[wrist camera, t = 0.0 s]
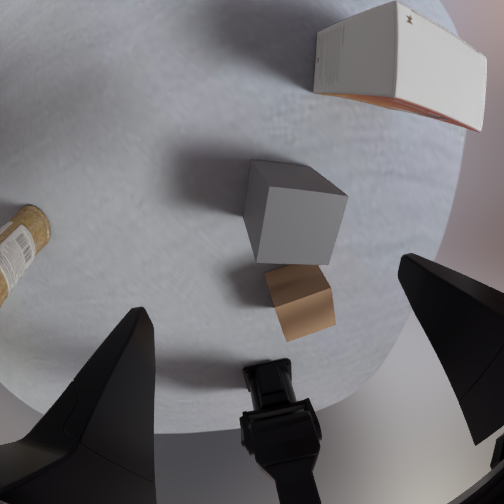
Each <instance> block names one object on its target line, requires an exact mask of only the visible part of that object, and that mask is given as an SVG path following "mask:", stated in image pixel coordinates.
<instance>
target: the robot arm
mask: <svg viewBox="0 0 504 504" xmlns="http://www.w3.org/2000/svg"><path fill="white" fill-rule="evenodd" d="M398 279H399V281H400V283H401V286H402V288H403V290H404V292H405V294H406V296H407V298H408V300H409V303H410V305H411V307H412V309H413V311H414V313H415V315H416V317H417V318H418V320H419V322H420V324H421V326H422V328H423V329H424V331H425V333H426V335H427V337H428V339H429V341H430V342H431V344H432V346H433V348H434V350H435V352H436V354H437V356H438V358H439V360H440V362H441V364H442V366H443V368H444V370H445V373H446V375H447V377H448V379H449V381H450V383H451V386H452V388H453V390H454V392H455V395H456V397H457V399H458V401H459V405H460V406H461V409H462V411H463V414H464V417H465V420H466V422H467V425H468V428H469V430H470V433H471V436H472V439H473V442H474V444H475V446H476V445H478V444H479V443H481V442H482V441H483V440H485V439H486V438H488V437H489V436H490V435H492V434H493V433H494V432H496V431H497V430H498V429H500V428H501V427H502V426H503V425H504V293H502V292H500V291H498V290H496V289H494V288H492V287H489V286H487V285H485V284H483V283H481V282H479V281H476V280H474V279H472V278H469V277H468V276H465V275H463V274H461V273H459V272H456V271H454V270H452V269H449V268H447V267H445V266H442V265H440V264H438V263H435V262H433V261H431V260H428V259H426V258H423V257H421V256H418V255H416V254H413V253H409V254H405V255H403V256H402V257H401V261H400V265H399V270H398ZM155 370H156V369H155V346H154V327H153V324H152V322H151V320H150V318H149V316H148V314H147V312H146V310H145V308H144V307H135V308H132V309H131V310H130V311H129V312H128V313H127V314H126V315H125V316H124V318H123V319H122V320H121V321H120V322H119V324H118V325H117V326H116V327H115V328H114V329H113V331H112V332H111V333H110V334H109V335H108V337H107V338H106V339H105V340H104V342H103V343H102V344H101V345H100V346H99V348H98V349H97V350H96V351H95V353H94V354H93V355H92V356H91V358H90V359H89V360H88V361H87V363H86V364H85V365H84V366H83V368H82V369H81V370H80V371H79V373H78V374H77V375H76V377H75V378H74V379H73V381H72V382H71V383H70V384H69V386H68V387H67V388H66V390H65V391H64V392H63V393H62V395H61V396H60V397H59V398H58V400H57V401H56V402H55V403H54V404H53V406H52V407H51V408H50V409H49V410H48V411H47V413H46V414H45V415H44V416H43V417H42V418H41V419H40V421H39V422H38V423H37V424H36V425H35V426H34V427H33V429H32V430H31V431H30V432H29V433H28V434H27V435H26V436H25V437H24V438H22V439H21V440H18V441H16V442H12V443H8V444H4V445H0V504H157V503H156V488H155V483H154V482H155V473H154V393H155ZM243 374H244V378H245V381H246V385H247V388H248V391H249V392H251V398H252V403H253V409H254V411H249V412H247V411H245V412H243V416H242V417H240V418H239V419H240V425H241V444H242V446H244V447H245V448H247V451H249V454H250V456H252V455H255V459H256V462H257V464H258V466H259V468H260V470H261V471H262V472H263V473H264V474H265V475H266V476H267V477H268V478H270V479H271V480H272V481H273V482H274V483H275V484H276V488H277V492H278V497H279V501H280V504H321V501H320V497H319V494H318V490H317V487H316V483H315V480H314V476H313V470H314V467H315V464H316V461H317V458H318V454H319V451H320V443H319V441H320V440H322V434H321V429H320V425H319V422H318V419H317V416H316V414H315V412H314V409H313V407H312V405H311V402H310V400H309V398H307V399H305V400H301V401H296V397H295V394H294V390H293V387H292V377H291V361H290V360H289V359H286V360H282V361H277V362H272V363H267V364H262V365H257V366H252V367H246V368H244V369H243ZM490 467H491V469H492V470H491V471H490V472H489V473H488V474H487V475H485V476H484V477H483V478H482V479H481V480H479V481H478V482H477V483H476V484H474V485H473V486H472V487H470V488H469V489H468V490H466V491H465V492H464V493H462V494H461V495H460V496H458V497H457V498H455V499H454V500H452V501H451V502H449V503H448V504H504V433H503V434H502V435H501V436H500V437H499V438H497V439H496V444H495V448H494V453H493V457H492V461H491V464H490Z"/></svg>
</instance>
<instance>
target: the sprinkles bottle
mask: <svg viewBox="0 0 504 504" xmlns="http://www.w3.org/2000/svg"><path fill="white" fill-rule="evenodd" d="M50 234H51V231H50V226H49V222H48V220H47V218H46V216H45V215H44V213H43V212H42V211H41V210H39V209H38V208H36V207H34V206H26V207H24V208H22V209H21V210H20V211H19V212H18V214H17V215H15V216H14V217H13V218H12V219H11V220H10V221H9V222H8V223H6V224H5V225H4V226H2V227H1V228H0V307H1V305H2V303H3V302H4V300H5V299H6V298H7V297H8V295H9V294H10V292H11V291H12V289H13V288H14V286H15V285H16V283H17V282H18V281H19V279H20V278H21V276H22V275H23V273H24V272H25V271H26V269H27V268H28V267H29V265H30V264H31V263H32V261H33V260H34V258H35V256H36V255H37V254H38V252H39V251H40V250H41V249H42V248H43V247H44V246H45V245H46V244H47V243H48V241H49V239H50Z"/></svg>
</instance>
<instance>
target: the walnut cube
mask: <svg viewBox="0 0 504 504" xmlns="http://www.w3.org/2000/svg"><path fill="white" fill-rule="evenodd" d="M264 275H265V278H266V282H267V285H268V288H269V291H270V295H271V298H272V301H273V304H274V308H275V310H276V313H277V316H278V319H279V322H280V324H281V327H282V330H283V333H284V335H285V338H286V341H287V342H288V341H291V340H294V339H297V338H300V337H303V336H306V335H308V334H311V333H314V332H317V331H319V330H322V329H325V328H328V327H330V326H333V325H335V324H336V321H335V313H334V305H333V298H332V291H331V287H330V285H329V283H328V282H327V280H326V278H325V276H324V275H323V273H322V271H321V270H320V268H319V266H318V265H307V264H289V265H286V266H283V267H280V268H277V269H274V270H272V271H269V272H266V273H264Z"/></svg>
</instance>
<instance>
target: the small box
mask: <svg viewBox="0 0 504 504" xmlns="http://www.w3.org/2000/svg"><path fill="white" fill-rule="evenodd" d="M486 61H487V59H486V57H485V56H484V55H483V54H482V53H480V52H479V51H477V50H476V49H474V48H473V47H471V46H470V45H469V44H467V43H466V42H464V41H463V40H462V39H460V38H459V37H457V36H456V35H454V34H453V33H451V32H450V31H448V30H446V29H445V28H443V27H442V26H440V25H438V24H437V23H435V22H433V21H432V20H430V19H428V18H427V17H425V16H423V15H421V14H420V13H418V12H416V11H414V10H413V9H411V8H409V7H408V6H406V5H404V4H402V3H400V2H398V1H392V2H390V3H386V4H383V5H381V6H378V7H375V8H372V9H370V10H367V11H364V12H362V13H359V14H357V15H354V16H352V17H349V18H347V19H345V20H342V21H340V22H338V23H335V24H333V25H331V26H329V27H327V28H325V29H323V30H321V31H319V32H317V46H316V61H315V76H314V89H313V93H315V94H322V95H330V96H336V97H342V98H347V99H352V100H356V101H360V102H364V103H369V104H373V105H376V106H380V107H384V108H388V109H392V110H399V111H404V112H408V113H413V114H417V115H421V116H426V117H430V118H434V119H437V120H441V121H444V122H448V123H451V124H454V125H458V126H461V127H464V128H467V129H470V130H473V131H477V132H481V129H482V124H483V117H484V107H485V95H486V75H487V62H486Z"/></svg>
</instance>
